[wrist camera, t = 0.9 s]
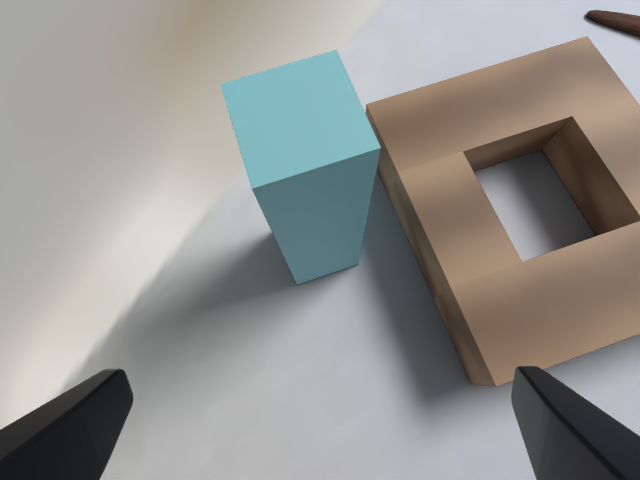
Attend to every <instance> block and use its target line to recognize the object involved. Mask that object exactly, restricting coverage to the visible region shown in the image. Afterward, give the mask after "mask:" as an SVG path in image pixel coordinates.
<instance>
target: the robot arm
mask: <svg viewBox="0 0 640 480" xmlns="http://www.w3.org/2000/svg"><path fill="white" fill-rule="evenodd" d="M511 399H512V405H513V409H514V412H515V415H516V418H517V421H518V424H519V427H520V431H521V434H522V437H523V440H524V443H525V446H526V449H527V452H528V455H529V458H530V461H531V464H532V467H533V470H534V473H535V476H536V479H537V480H640V436H639V435H637V434H636V433H634V432H633V431H631V430H630V429H628V428H627V427H626V426H624V425H623V424H621V423H620V422H618V421H617V420H615V419H614V418H612V417H611V416H610V415H608V414H607V413H605V412H604V411H602V410H601V409H599V408H598V407H596V406H595V405H593V404H592V403H591V402H589V401H588V400H586V399H585V398H583V397H582V396H580V395H579V394H577V393H576V392H575V391H573V390H572V389H570V388H569V387H567V386H566V385H564V384H563V383H561V382H560V381H559V380H557V379H556V378H554V377H553V376H551V375H550V374H548V373H547V372H545V371H544V370H542V369H541V368H539V367H537V366H518V367H517V368H516V369H515V373H514V380H513V387H512V395H511ZM132 404H133V393H132V390H131V387H130V384H129V381H128V378H127V375H126V373H125V371H124V370H122V369H105V370H103V371H101V372H99V373H97V374H96V375H94V376H92V377H90V378H89V379H87V380H85V381H84V382H82V383H80V384H78V385H77V386H75V387H73V388H71V389H70V390H68V391H66V392H65V393H63V394H61V395H59V396H58V397H56V398H54V399H53V400H51V401H49V402H47V403H46V404H44V405H42V406H40V407H39V408H37V409H35V410H34V411H32V412H30V413H28V414H27V415H25V416H23V417H22V418H20V419H18V420H16V421H15V422H13V423H11V424H10V425H8V426H6V427H4V428H3V429H1V430H0V480H100V478H101V476H102V474H103V472H104V470H105V467H106V465H107V463H108V461H109V459H110V456H111V454H112V452H113V449H114V447H115V445H116V442H117V440H118V437H119V435H120V433H121V430H122V428H123V426H124V423H125V421H126V419H127V416H128V414H129V412H130V409H131V407H132Z"/></svg>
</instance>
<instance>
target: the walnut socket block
mask: <svg viewBox="0 0 640 480" xmlns="http://www.w3.org/2000/svg"><path fill="white" fill-rule="evenodd" d="M366 116H367V118H368V120H369V123H370V125H371V127H372V129H373V131H374V134H375V136H376V138H377V140H378V142H379V145H380V147H381V150H380V155H379V160H378V165H377V171H378V173H379V175H380V178H381V180H382V182H383V185H384V187H385V189H386V191H387V194H388V196H389V198H390V200H391V203H392V205H393V207H394V210H395V212H396V214H397V216H398V219H399V221H400V223H401V225H402V228H403V230H404V232H405V235H406V237H407V239H408V241H409V244H410V246H411V248H412V250H413V253H414V255H415V257H416V260H417V262H418V264H419V266H420V269H421V271H422V273H423V275H424V278H425V280H426V282H427V285H428V287H429V289H430V291H431V294H432V296H433V298H434V300H435V303H436V305H437V307H438V310H439V312H440V314H441V316H442V319H443V321H444V323H445V325H446V328H447V330H448V332H449V335H450V337H451V339H452V341H453V344H454V346H455V348H456V350H457V353H458V355H459V357H460V360H461V362H462V364H463V366H464V369H465V371H466V373H467V375H468V378H469V380H470V382H471V384H475V385H485V386H495V387H497V386H499V385H502V384H505V383H508V382H510V381H513V380H514V373H515V369H516V368H517V367H518V366H537V367H539V368H541V369H542V370H543V369H545V368H548V367H551V366H554V365H556V364H559V363H562V362H564V361H567V360H570V359H573V358H575V357H578V356H581V355H583V354H586V353H589V352H592V351H594V350H597V349H600V348H602V347H605V346H608V345H610V344H613V343H616V342H619V341H621V340H624V339H627V338H629V337H632V336H635V335H638V334H640V105H639V103H638V102H637V101H636V100H635V98H634V97H633V96H632V94H631V93H630V92H629V90H628V89H627V88H626V86H625V85H624V84H623V82H622V81H621V80H620V79H619V77H618V76H617V75H616V73H615V72H614V71H613V69H612V68H611V67H610V65H609V64H608V63H607V61H606V60H605V59H604V58H603V56H602V55H601V54H600V52H599V51H598V50H597V48H596V47H595V46H594V44H593V43H592V42H591V40H590V39H589V38H588V37H587V36H586V37H583V38H580V39H577V40H573V41H570V42H567V43H564V44H560V45H557V46H554V47H551V48H547V49H544V50H541V51H538V52H535V53H531V54H528V55H525V56H522V57H518V58H515V59H512V60H509V61H505V62H502V63H499V64H496V65H492V66H489V67H486V68H483V69H479V70H476V71H473V72H470V73H466V74H463V75H460V76H457V77H453V78H450V79H447V80H444V81H441V82H437V83H434V84H431V85H428V86H424V87H421V88H418V89H415V90H411V91H408V92H405V93H402V94H398V95H395V96H392V97H389V98H385V99H382V100H379V101H376V102H372V103H369V104H366ZM540 149H542V150H543V151H544V153H545V155H546V156H547V158H548V159H549V161H550V163H551V164H552V166H553V167H554V169H555V171H556V172H557V174H558V175H559V177H560V179H561V180H562V182H563V183H564V185H565V187H566V188H567V190H568V191H569V193H570V195H571V196H572V198H573V200H574V201H575V203H576V204H577V206H578V208H579V209H580V211H581V212H582V214H583V216H584V217H585V219H586V220H587V222H588V224H589V225H590V227H591V228H592V230H593V232H594V233H595V235H596V236H595V237H593V238H590V239H587V240H584V241H581V242H578V243H575V244H572V245H570V246H567V247H564V248H561V249H558V250H555V251H552V252H549V253H546V254H544V255H541V256H538V257H535V258H532V259H529V260H526V261H523V262H522V261H521V259H520V257H519V255H518V253H517V252H516V250H515V248H514V246H513V244H512V242H511V240H510V239H509V237H508V235H507V233H506V231H505V229H504V227H503V226H502V224H501V222H500V220H499V218H498V216H497V214H496V213H495V211H494V209H493V207H492V205H491V203H490V201H489V200H488V198H487V196H486V194H485V192H484V190H483V188H482V187H481V185H480V183H479V181H478V179H477V177H476V175H475V174H474V172H473V171H476V170H479V169H482V168H485V167H489V166H492V165H495V164H498V163H501V162H504V161H507V160H510V159H513V158H516V157H519V156H522V155H525V154H528V153H531V152H534V151H537V150H540Z"/></svg>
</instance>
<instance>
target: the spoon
mask: <svg viewBox="0 0 640 480" xmlns="http://www.w3.org/2000/svg"><path fill="white" fill-rule="evenodd" d="M587 15H588V17H589V18H591V19H592V20H594V21H596V22H598V23H600V24H603V25H606V26H608V27H611V28H614V29H617V30H620V31H624V32H627V33H630V34H633V35H636V36H639V37H640V16H636V15H630V14H624V13H617V12H609V11H600V10H592V11H589V12H588V13H587Z"/></svg>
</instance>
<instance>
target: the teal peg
mask: <svg viewBox="0 0 640 480" xmlns="http://www.w3.org/2000/svg"><path fill="white" fill-rule="evenodd" d="M220 86H221V89H222V93H223V96H224V99H225V102H226V106H227V109H228V112H229V115H230V119H231V122H232V125H233V129H234V132H235V135H236V138H237V142H238V145H239V148H240V151H241V154H242V158H243V161H244V165H245V168H246V171H247V174H248V178H249V181H250V184H251V188H252V190H253V192H254V194H255V197H256V199H257V201H258V203H259V205H260V207H261V209H262V211H263V214H264V216H265V218H266V220H267V222H268V224H269V226H270V228H271V231H272V233H273V235H274V237H275V239H276V241H277V243H278V246H279V248H280V250H281V252H282V254H283V256H284V258H285V260H286V263H287V265H288V267H289V269H290V271H291V273H292V275H293V277H294V280H295V282H296V284H297V285H299V284H302V283H305V282H308V281H311V280H314V279H317V278H320V277H322V276H325V275H328V274H331V273H334V272H337V271H340V270H343V269H346V268H349V267H352V266H355V265H358V263H359V258H360V253H361V248H362V243H363V238H364V232H365V227H366V222H367V217H368V212H369V207H370V201H371V196H372V191H373V186H374V181H375V176H376V171H377V165H378V160H379V155H380V150H381V147H380V145H379V142H378V140H377V138H376V136H375V134H374V131H373V129H372V127H371V125H370V123H369V120H368V118H367V116H366V114H365V112H364V109H363V107H362V105H361V103H360V101H359V98H358V96H357V94H356V92H355V90H354V87H353V85H352V83H351V81H350V79H349V76H348V74H347V72H346V70H345V68H344V65H343V63H342V61H341V59H340V57H339V54H338V52H337V50H334V51H331V52H327V53H324V54H321V55H317V56H314V57H310V58H307V59H304V60H300V61H297V62H293V63H291V64H287V65H283V66H280V67H277V68H273V69H270V70H266V71H263V72H260V73H256V74H253V75H250V76H246V77H243V78H239V79H237V80H233V81H229V82H226V83H223V84H220Z"/></svg>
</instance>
